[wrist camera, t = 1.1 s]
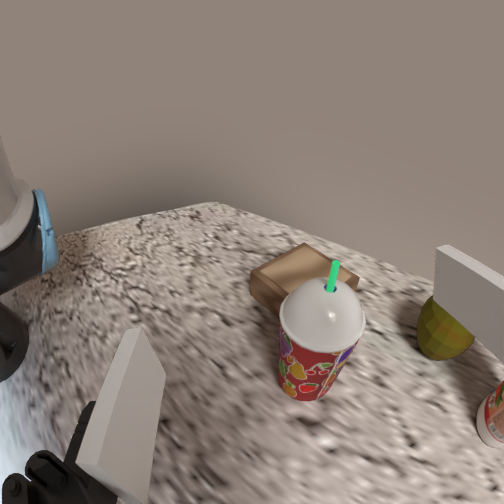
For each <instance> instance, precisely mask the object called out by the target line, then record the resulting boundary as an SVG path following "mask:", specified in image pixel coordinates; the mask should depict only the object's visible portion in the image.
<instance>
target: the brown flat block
mask: <svg viewBox="0 0 504 504" xmlns="http://www.w3.org/2000/svg"><path fill="white" fill-rule="evenodd" d="M332 262H333V260H332V259H330V258H328V257H327V256H325V255H324V254H322V253H320V252H319V251H317V250H316V249H314V248H312V247H311V246H309V245H308V244H306V243H302V244H300V245H299V246H297V247H295V248H293V249H291V250H289V251H288V252H286V253H284V254H282V255H280V256H278V257H277V258H275V259H273V260H271V261H269V262H267V263H265V264H264V265H262V266H260V267H258V268H256V269H254V270H252V271H251V295H252V296H253V297H254V298H255V299H256V300H258V301H259V302H260V303H261V304H262V305H263V306H265V307H266V308H267V309H268V310H269V311H270V312H272V313H273V314H274V315H275V316H276V317H277V318H279V313H280V306H281V304H282V302H283V301H284V299H285V298H286V296H288V295H289V294H290V293H291V292H293V291H294V289H296V288H297V287H298V286H299V285H301V284H302V283H303V282H305V281H307V280H310V279H313V278H316V277H329V275H330V270H331V266H332ZM359 278H360V277H358V276H357V275H355V274H353V273H352V272H350V271H349V270H347V269H346V268H344V267H343V266H341V265H340V266H339V270H338V275H337V279H339V280H341V281H343V282H344V283H346V284H347V285H348V286H349V287H351V288H352V289H353V290H354V291H356V288H357V285H358V281H359ZM279 319H280V318H279Z"/></svg>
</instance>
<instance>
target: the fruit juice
mask: <svg viewBox="0 0 504 504" xmlns="http://www.w3.org/2000/svg"><path fill="white" fill-rule="evenodd" d="M476 423H477V429H478V433H479V435H480V437H481V439H482V440H483V441H484V442H485V443H486V444H487V445H489V446H491V447H494V448H500V447H504V381H503V382H502V383H501V384H500V385H499V386H498V387H497V388H496V389H495V390H494V391H492V392H491V393H490V394H489V395H488V396H487V397H486V398H485V399H484V400H483V402H482V403H481V405H480V407H479V409H478V412H477V418H476Z"/></svg>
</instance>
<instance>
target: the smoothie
mask: <svg viewBox="0 0 504 504" xmlns="http://www.w3.org/2000/svg"><path fill="white" fill-rule="evenodd" d="M339 266H340V262H339V261H336V260H335V261H333V262H332V266H331V270H330V275H329V277H316V278H313V279H310V280H307V281H305V282H303V283H302V284H301V285H299V286H298V287H297V288H296V289H294V291H293V292H291V293H290V294H289V295H288V296H286V298H285V299H284V301H283V302H282V304H281V306H280V313H279V318H280V345H279V382H280V386H281V387H282V389H283V390H284V392H285V393H286V394H288V395H289V396H290V397H292V398H294V399H296V400H299V401H311V400H316V399H318V398H320V397H322V396H323V395H325V394H326V392H327V391H328V390H329V389H330V387H331V386H332V384H333V382H334V381H335V379H336V378H337V376H338V374H339V373H340V371H341V370H342V368H343V366H344V365H345V363H346V361H347V360H348V358H349V356H350V354H351V353H352V351H353V349H354V348H355V346H356V344H357V342H358V340H359V339H360V337H361V336H362V335H363V332H364V329H365V326H366V320H365V313H364V311H363V309H362V306H361V302H360V301H359V299H358V297H357V295H356V293H355V291H354V290H353V289H352V288H351V287H349V286H348V285H347V284H346V283H344V282H343V281H341V280H339V279H337V275H338V270H339Z"/></svg>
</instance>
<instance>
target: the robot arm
mask: <svg viewBox="0 0 504 504" xmlns="http://www.w3.org/2000/svg"><path fill="white" fill-rule="evenodd" d="M435 254H436V255H435V277H434V291H433V300H434V301H435V302H436V303H437V304H439V305H440V306H441V307H442V308H443V309H444V310H446V311H447V312H448V313H449V314H450V315H451V316H452V317H454V318H455V319H456V320H457V321H458V322H459V323H460V324H461V325H463V326H464V327H465V328H466V329H467V330H468V331H469V332H470V333H471V334H472V335H474V336H475V337H476V338H477V339H478V340H479V341H480V342H481V343H482V344H483V345H484V346H485V347H486V348H487V349H489V350H490V351H491V352H492V353H493V354H494V355H495V356H496V357H497V358H498V359H499V360H500V361H501V362H502V363H503V364H504V277H503V276H501V275H500V274H498V273H497V272H495V271H493V270H491V269H490V268H488V267H487V266H485V265H483V264H482V263H480V262H478V261H476V260H475V259H473V258H471V257H469V256H468V255H466V254H464V253H462V252H461V251H459V250H457V249H455V248H453V247H452V246H450V245H448V244H446V245H443V246H440V247H438V248H436V253H435ZM58 261H59V251H58V247H57V243H56V239H55V235H54V232H53V229H52V225H51V219H50V215H49V211H48V207H47V203H46V199H45V196H44V192H43V191H42V190H41V189H37V190H32V191H31V189H30V187H29V185H28V184H27V183H26V182H25V181H23V180H21V179H18V178H14V175H13V173H12V170H11V168H10V165H9V162H8V159H7V156H6V153H5V150H4V147H3V144H2V141H1V137H0V295H2V294H4V293H6V292H8V291H9V290H11V289H13V288H15V287H17V286H19V285H21V284H23V283H25V282H27V281H29V280H31V279H33V278H35V277H38V276H42V275H43V274H44V273H45V272H46V271H48V270H50V269H52V268H54V267H55V266H56V265H57V264H58ZM28 339H29V338H28V331H27V328H26V326H25V325H24V323H23V322H22V320H21V319H20V317H19V316H18V315H17V314H16V313H14V312H13V311H12V310H10V309H9V308H8V307H7V306H5V305H4V304H3V303H2V302H0V382H2V381H3V380H5V379H7V378H8V377H9V376H11V375H12V374H13V373H14V372H15V370H16V369H17V368H18V367H19V365H20V364H21V362H22V360H23V358H24V356H25V354H26V351H27V347H28ZM166 375H167V374H166V373H165V371H164V369H163V367H162V365H161V363H160V362H159V360H158V358H157V356H156V354H155V352H154V350H153V348H152V346H151V344H150V342H149V340H148V338H147V336H146V334H145V332H144V330H143V328H142V327H137V328H132V329H127V330H126V331H125V333H124V335H123V338H122V340H121V342H120V345H119V347H118V349H117V352H116V354H115V356H114V359H113V361H112V363H111V366H110V368H109V371H108V373H107V376H106V378H105V381H104V383H103V386H102V388H101V391H100V393H99V396H98V399H97V401H90V402H89V403H88V405H87V406H86V407H85V408H84V410H83V411H82V413H81V415H80V418H79V421H78V424H77V426H76V429H75V433H74V434H73V437H72V439H71V442H70V445H69V448H68V451H67V454H66V456H65V459H64V462H62V461H61V460H60V459H59V458H57V457H56V456H55V455H54V454H53V453H52V452H50V451H48V450H41V451H38V452H36V453H35V454H33V455H32V456H31V457H30V458H29V460H28V461H27V463H26V467H25V475H26V476H27V477H28V478H29V479H30V480H32V481H29V480H28V479H26V478H25V477H24V476H23V475H21V474H19V473H13V474H11V475H9V476H8V477H7V478H6V479H5V481H4V483H3V486H2V504H116V503H117V497H119V498H120V499H121V500H123V501H124V502H126V503H128V504H148V495H149V486H150V477H151V469H152V462H153V454H154V447H155V440H156V434H157V427H158V421H159V415H160V408H161V403H162V397H163V391H164V386H165V380H166Z"/></svg>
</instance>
